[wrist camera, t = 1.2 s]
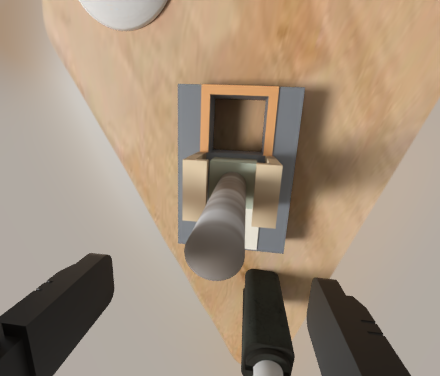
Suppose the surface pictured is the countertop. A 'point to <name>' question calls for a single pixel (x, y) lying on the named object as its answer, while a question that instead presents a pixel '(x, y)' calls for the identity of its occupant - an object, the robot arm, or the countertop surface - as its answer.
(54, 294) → the robot arm
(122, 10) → the candlestick
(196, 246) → the post on square base
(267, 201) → the wooden brackets
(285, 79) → the countertop surface
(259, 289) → the candle
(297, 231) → the countertop surface
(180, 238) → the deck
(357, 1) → the countertop surface
